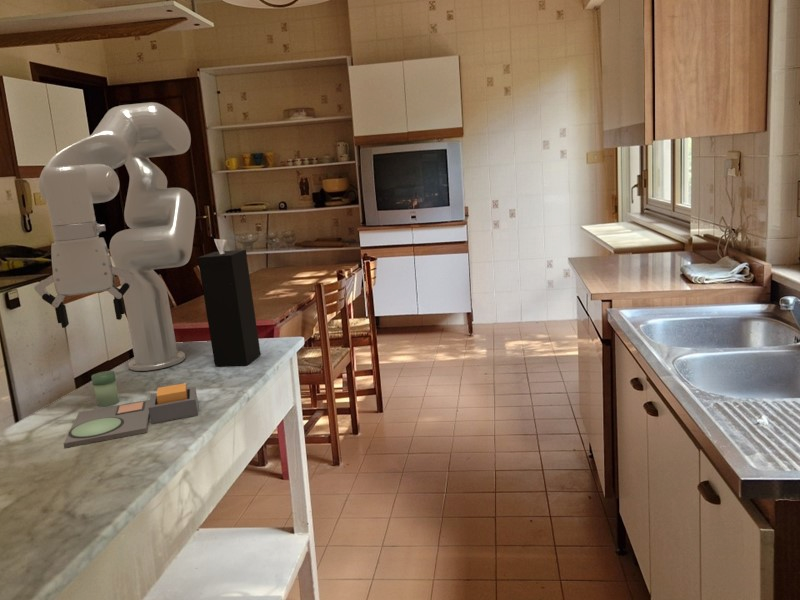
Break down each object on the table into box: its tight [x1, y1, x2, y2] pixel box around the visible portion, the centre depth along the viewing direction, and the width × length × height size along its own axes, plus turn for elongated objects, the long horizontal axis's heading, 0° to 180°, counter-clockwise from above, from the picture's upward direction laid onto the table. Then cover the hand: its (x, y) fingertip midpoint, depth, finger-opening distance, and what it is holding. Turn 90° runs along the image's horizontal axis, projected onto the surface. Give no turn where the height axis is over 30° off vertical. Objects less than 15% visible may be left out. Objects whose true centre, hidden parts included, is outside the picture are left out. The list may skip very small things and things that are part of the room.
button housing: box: [148, 386, 199, 425], centre depth 125 cm, size 8×8×3 cm
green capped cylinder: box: [91, 370, 120, 408], centre depth 134 cm, size 4×4×6 cm
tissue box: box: [197, 238, 261, 367], centre depth 153 cm, size 8×8×28 cm
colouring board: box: [63, 399, 150, 449], centre depth 123 cm, size 16×13×1 cm
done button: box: [156, 382, 188, 404], centre depth 125 cm, size 5×5×2 cm
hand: (92, 322), depth 131 cm, fingers open, 9 cm apart
